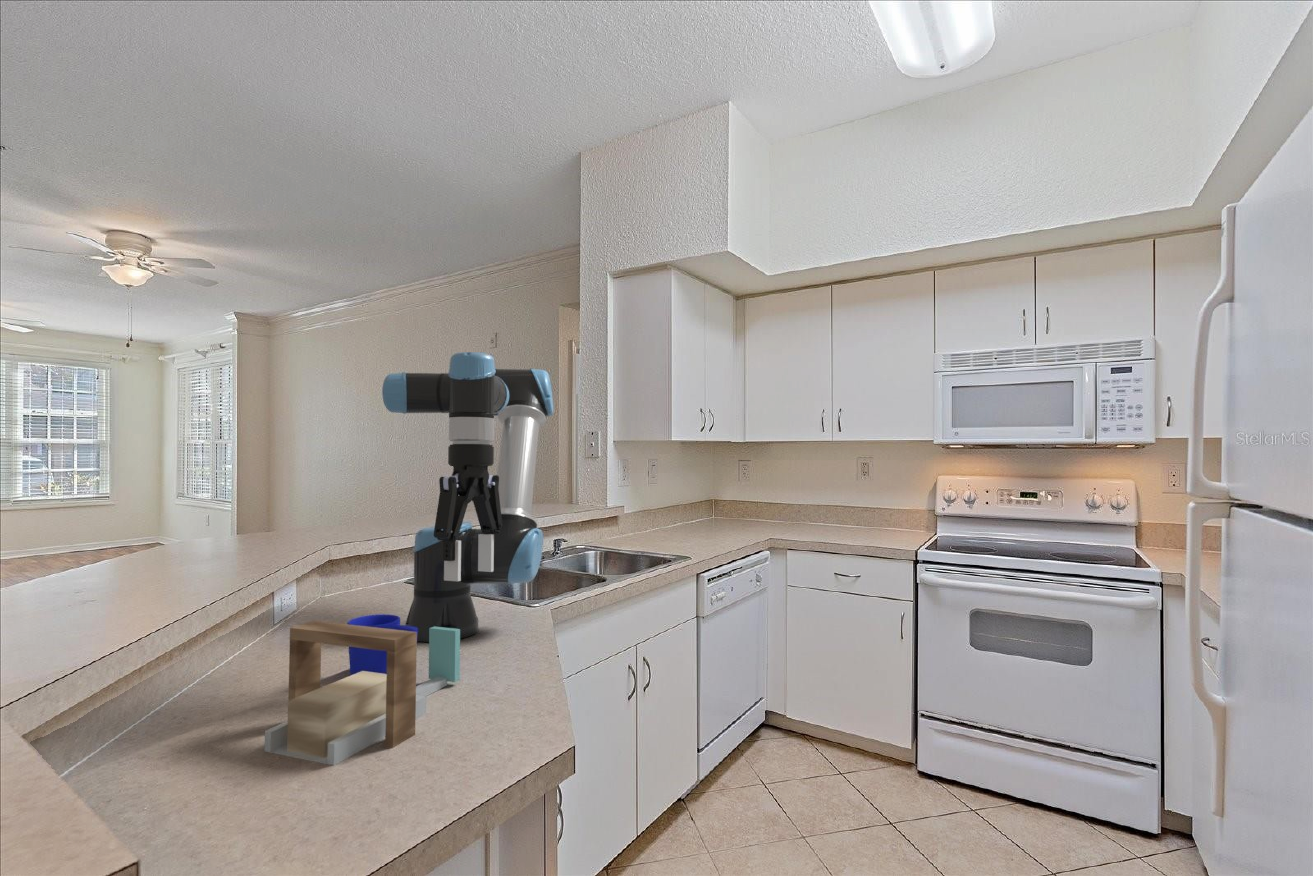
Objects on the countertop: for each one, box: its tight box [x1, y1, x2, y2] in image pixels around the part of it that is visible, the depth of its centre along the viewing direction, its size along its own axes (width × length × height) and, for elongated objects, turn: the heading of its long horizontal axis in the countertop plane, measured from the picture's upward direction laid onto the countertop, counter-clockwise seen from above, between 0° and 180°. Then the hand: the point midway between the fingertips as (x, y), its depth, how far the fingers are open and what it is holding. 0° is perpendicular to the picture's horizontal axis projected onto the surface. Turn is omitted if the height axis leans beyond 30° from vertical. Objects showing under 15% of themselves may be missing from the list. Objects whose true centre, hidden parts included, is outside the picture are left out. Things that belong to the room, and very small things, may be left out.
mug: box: [346, 613, 418, 676], centre depth 107 cm, size 8×12×10 cm
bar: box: [287, 671, 387, 758], centre depth 83 cm, size 12×6×6 cm, turn 161°
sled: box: [263, 626, 461, 766], centre depth 89 cm, size 28×11×10 cm, turn 161°
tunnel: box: [287, 620, 418, 749], centre depth 84 cm, size 4×17×14 cm, turn 71°
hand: (469, 575), depth 108 cm, fingers open, 9 cm apart
